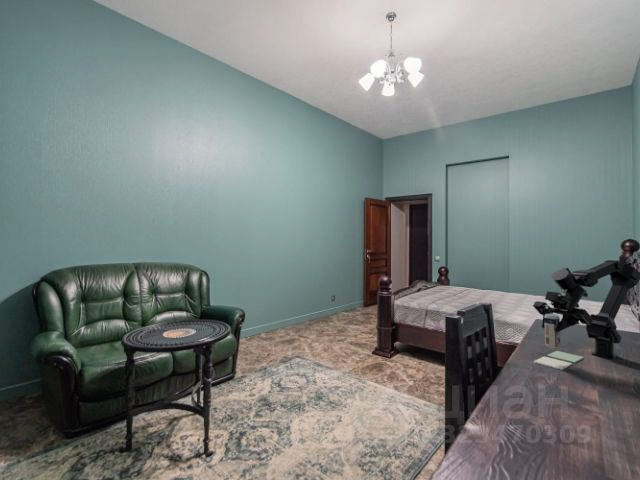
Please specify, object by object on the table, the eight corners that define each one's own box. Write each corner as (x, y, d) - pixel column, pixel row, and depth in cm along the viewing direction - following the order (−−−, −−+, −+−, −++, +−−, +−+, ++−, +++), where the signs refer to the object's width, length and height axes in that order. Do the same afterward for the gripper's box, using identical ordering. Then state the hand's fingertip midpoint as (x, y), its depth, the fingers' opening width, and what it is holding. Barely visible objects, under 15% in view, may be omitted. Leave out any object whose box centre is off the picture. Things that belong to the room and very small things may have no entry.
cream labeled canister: (560, 349, 115) (559, 316, 115) (544, 347, 118) (543, 315, 118) (560, 346, 119) (559, 314, 119) (545, 344, 122) (544, 312, 122)
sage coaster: (556, 352, 131) (556, 350, 131) (583, 358, 123) (583, 357, 124) (547, 356, 126) (547, 355, 126) (574, 363, 119) (574, 361, 119)
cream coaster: (544, 357, 125) (544, 356, 125) (572, 364, 117) (572, 363, 117) (533, 362, 120) (533, 361, 120) (562, 370, 112) (561, 368, 112)
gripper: (535, 281, 129) (515, 310, 126) (585, 286, 111) (563, 321, 108) (550, 299, 131) (531, 328, 128) (602, 307, 113) (580, 341, 110)
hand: (549, 329), depth 118 cm, fingers closed on cream labeled canister, 5 cm apart
